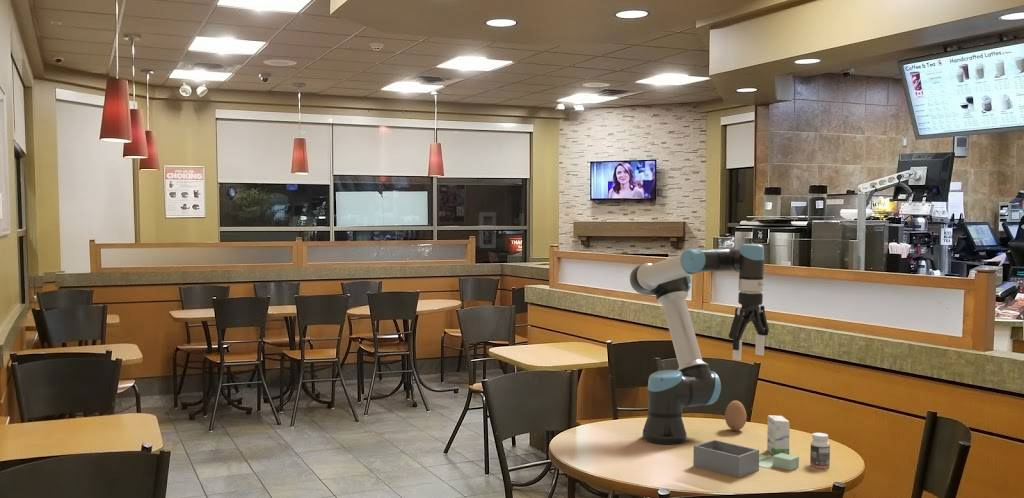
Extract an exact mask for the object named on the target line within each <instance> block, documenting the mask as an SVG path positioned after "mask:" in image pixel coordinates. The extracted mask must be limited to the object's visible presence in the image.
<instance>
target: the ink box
mask: <svg viewBox="0 0 1024 498" xmlns="http://www.w3.org/2000/svg"><path fill="white" fill-rule="evenodd" d="M790 425H791V424H790V421H789V420H788V419H786V418H785V417H784V416H783V415H773V414H772V415H771V414H770V415H769V414H768V415H767V437H766V438H767V439H766V440H767V443H766V450H767V451H768V452H769V454H770V455H772V456H774V455H777V454H780V453H783V454H788V455H790Z"/></svg>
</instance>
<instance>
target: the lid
mask: <svg viewBox="0 0 1024 498" xmlns="http://www.w3.org/2000/svg"><path fill="white" fill-rule="evenodd" d="M771 467H775V468H779V469H783V470H787V471H793V470H795V469H798V468H799V467H800V457H799V456H796V455H793V454H789V455H788V454H783V453H780V454H777V455H772V454H767V455H763V454H761V453H759V468H764V469H769V468H771Z"/></svg>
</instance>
